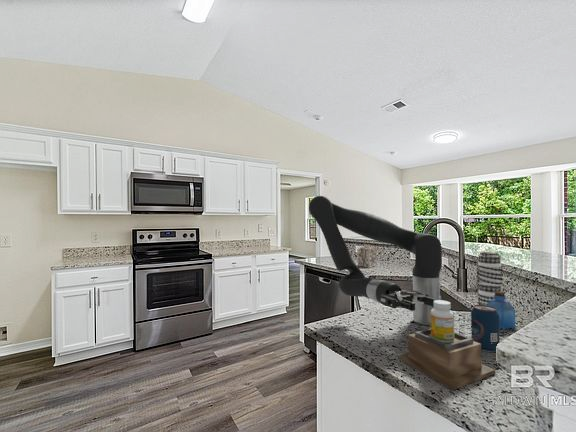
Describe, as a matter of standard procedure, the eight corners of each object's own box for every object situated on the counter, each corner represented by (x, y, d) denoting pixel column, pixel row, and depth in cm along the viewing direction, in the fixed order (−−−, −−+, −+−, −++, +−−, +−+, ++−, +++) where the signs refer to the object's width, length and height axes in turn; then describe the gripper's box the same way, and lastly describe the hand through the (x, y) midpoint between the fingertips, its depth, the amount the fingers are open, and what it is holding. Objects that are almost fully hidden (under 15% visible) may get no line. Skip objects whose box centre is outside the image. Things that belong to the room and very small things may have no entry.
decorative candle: (509, 316, 112) (508, 253, 113) (483, 314, 114) (482, 252, 115) (497, 309, 121) (496, 250, 122) (473, 307, 123) (472, 250, 124)
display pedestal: (437, 347, 85) (437, 321, 85) (495, 373, 70) (494, 341, 70) (397, 359, 78) (397, 329, 78) (452, 390, 64) (451, 354, 64)
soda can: (466, 343, 88) (465, 304, 88) (487, 342, 88) (486, 303, 89) (483, 353, 81) (482, 311, 81) (506, 352, 82) (505, 310, 82)
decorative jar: (365, 264, 247) (365, 244, 248) (377, 266, 238) (377, 244, 239) (357, 266, 239) (357, 245, 240) (369, 267, 231) (368, 245, 231)
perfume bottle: (485, 323, 105) (485, 290, 105) (497, 321, 107) (496, 289, 107) (503, 329, 99) (502, 295, 99) (515, 327, 101) (514, 293, 101)
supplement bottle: (433, 333, 78) (433, 298, 78) (456, 338, 75) (455, 301, 75) (428, 339, 74) (428, 302, 74) (452, 345, 71) (451, 306, 71)
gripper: (366, 283, 91) (406, 294, 77) (399, 279, 97) (442, 289, 83) (366, 306, 91) (407, 322, 77) (399, 300, 97) (442, 314, 83)
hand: (425, 305), depth 80 cm, fingers open, 8 cm apart
